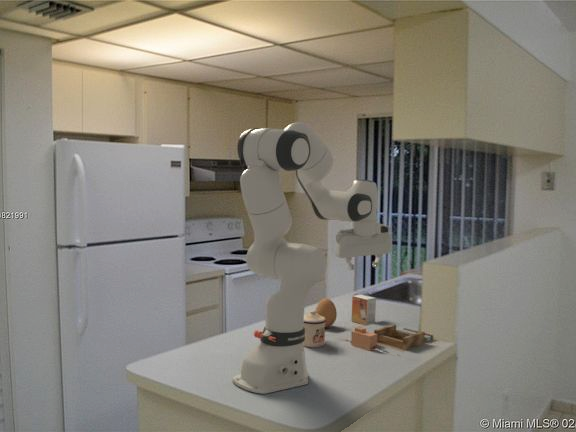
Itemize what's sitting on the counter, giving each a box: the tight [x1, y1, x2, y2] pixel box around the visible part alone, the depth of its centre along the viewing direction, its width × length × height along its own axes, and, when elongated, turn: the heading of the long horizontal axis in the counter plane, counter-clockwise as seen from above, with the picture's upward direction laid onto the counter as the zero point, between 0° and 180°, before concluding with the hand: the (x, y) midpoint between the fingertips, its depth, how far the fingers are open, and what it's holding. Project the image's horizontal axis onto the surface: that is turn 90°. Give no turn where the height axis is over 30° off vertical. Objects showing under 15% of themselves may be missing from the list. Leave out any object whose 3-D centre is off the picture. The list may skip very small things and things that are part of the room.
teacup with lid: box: [303, 310, 326, 348], centre depth 191 cm, size 12×9×12 cm
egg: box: [315, 298, 338, 329], centre depth 212 cm, size 8×8×11 cm
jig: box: [373, 323, 436, 352], centre depth 192 cm, size 20×13×5 cm, turn 134°
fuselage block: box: [350, 326, 378, 352], centre depth 188 cm, size 4×8×6 cm, turn 44°
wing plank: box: [399, 328, 432, 343], centre depth 196 cm, size 2×12×2 cm, turn 44°
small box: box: [351, 294, 377, 326], centre depth 220 cm, size 8×6×10 cm
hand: (363, 268), depth 185 cm, fingers open, 8 cm apart
